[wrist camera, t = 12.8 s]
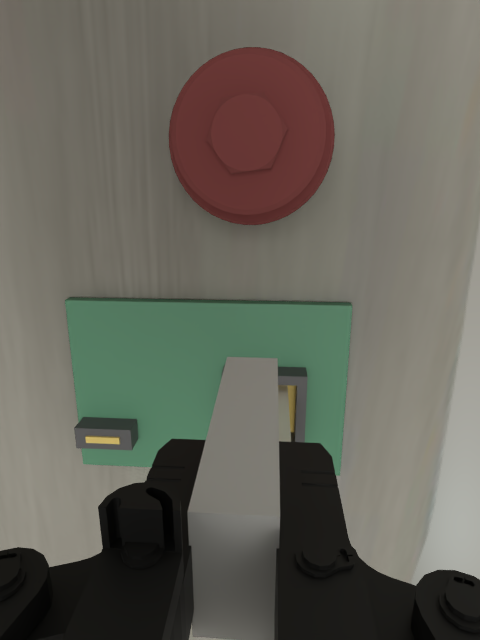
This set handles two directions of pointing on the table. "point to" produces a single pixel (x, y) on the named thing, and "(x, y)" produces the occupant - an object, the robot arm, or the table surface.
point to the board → (198, 369)
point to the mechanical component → (251, 136)
